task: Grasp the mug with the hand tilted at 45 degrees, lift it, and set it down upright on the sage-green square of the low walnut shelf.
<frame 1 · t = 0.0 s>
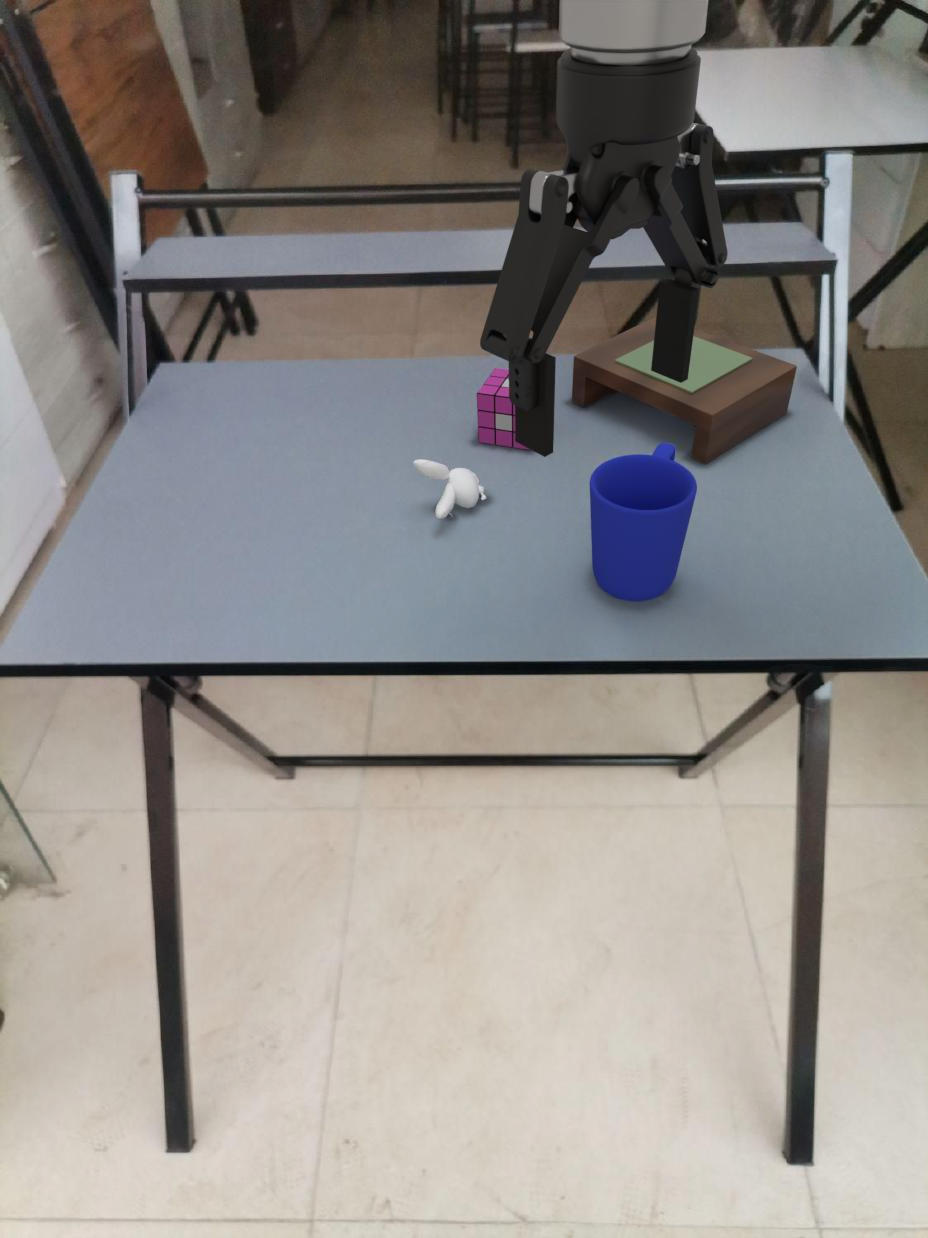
hand: (605, 409, 63), 19 cm above the table, tool pointing down, fingers open, 13 cm apart
puzzle toy: (512, 434, 97), on the table
rabbit figurine: (449, 512, 87), on the table
mug: (639, 569, 79), on the table
shelf: (677, 408, 99), on the table
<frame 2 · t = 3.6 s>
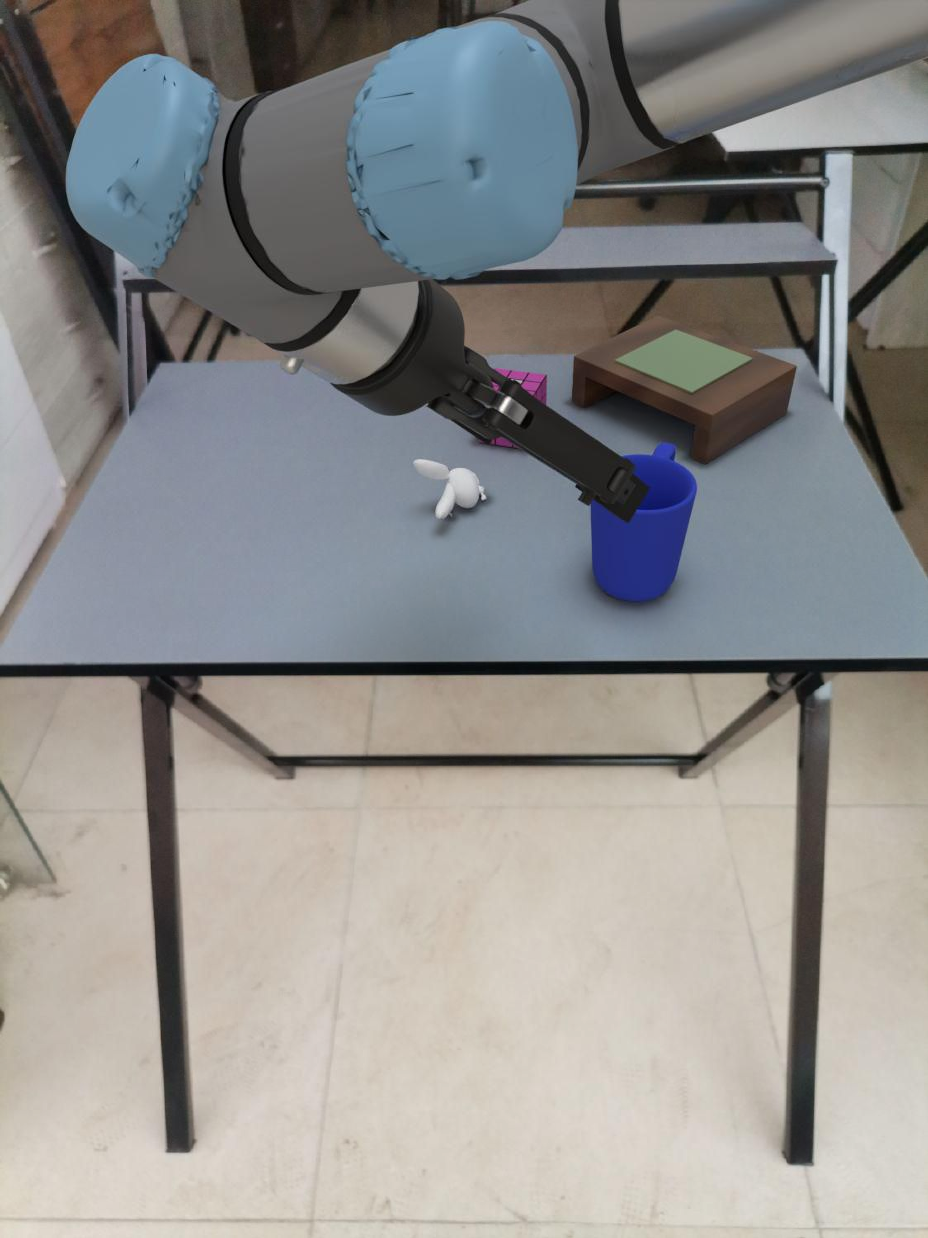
hand: (561, 463, 64), 15 cm above the table, tool tilted 45°, fingers open, 13 cm apart
nothing on the table moved.
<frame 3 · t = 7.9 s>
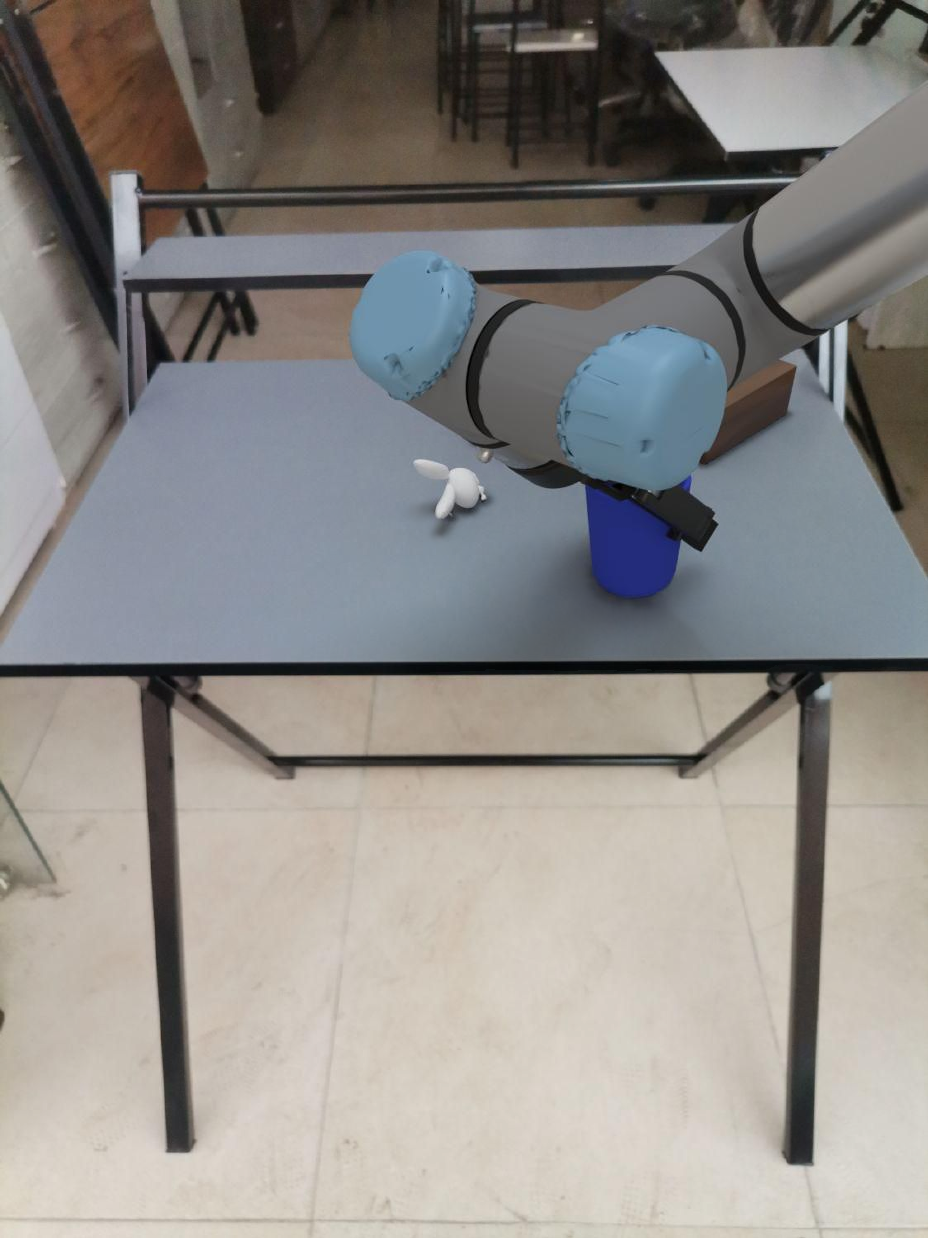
hand: (670, 517, 79), 4 cm above the table, tool tilted 45°, fingers closed on mug, 7 cm apart
mug: (639, 568, 79), on the table, touching gripper
everything else where it was.
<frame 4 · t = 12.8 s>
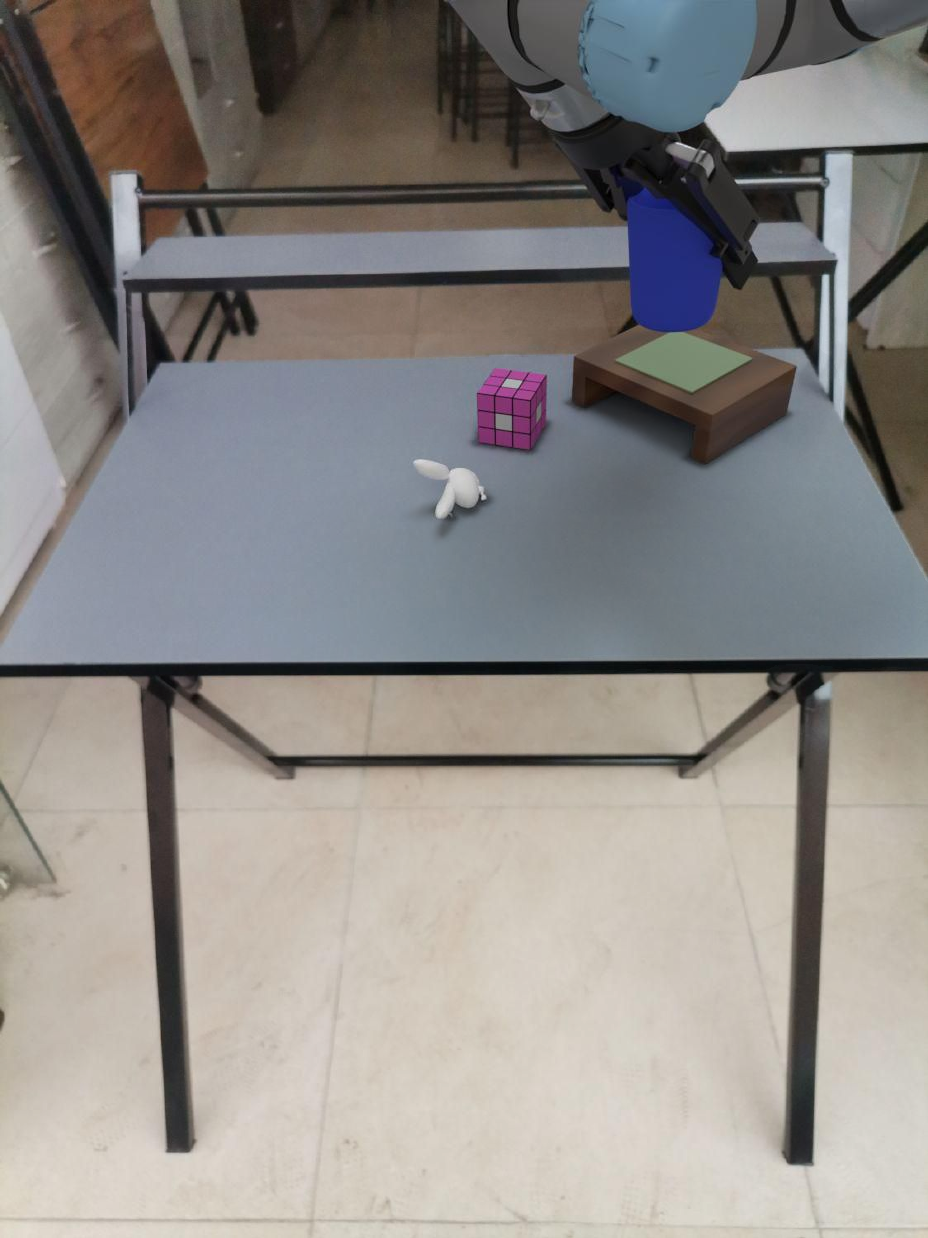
hand: (708, 262, 79), 20 cm above the table, tool tilted 45°, fingers closed on mug, 7 cm apart
mug: (677, 315, 79), point 16 cm above the table, touching gripper
everything else where it was.
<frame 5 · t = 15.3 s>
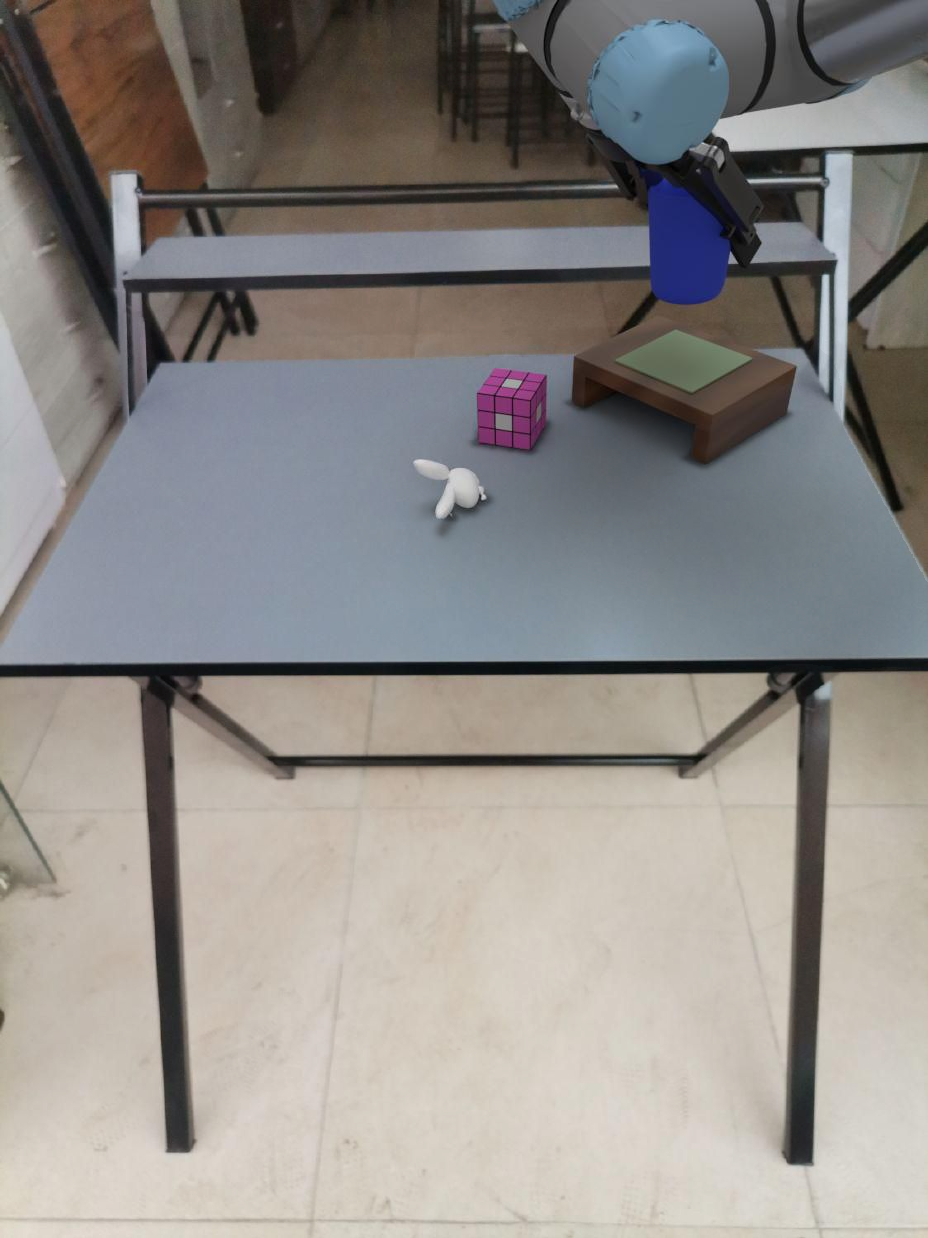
hand: (718, 244, 90), 16 cm above the table, tool tilted 45°, fingers closed on mug, 7 cm apart
mug: (690, 291, 91), point 13 cm above the table, touching gripper
everything else where it was.
when the fingers open (9 cm above the table, at t = 17.7 s): mug stays where it is, resting on shelf.
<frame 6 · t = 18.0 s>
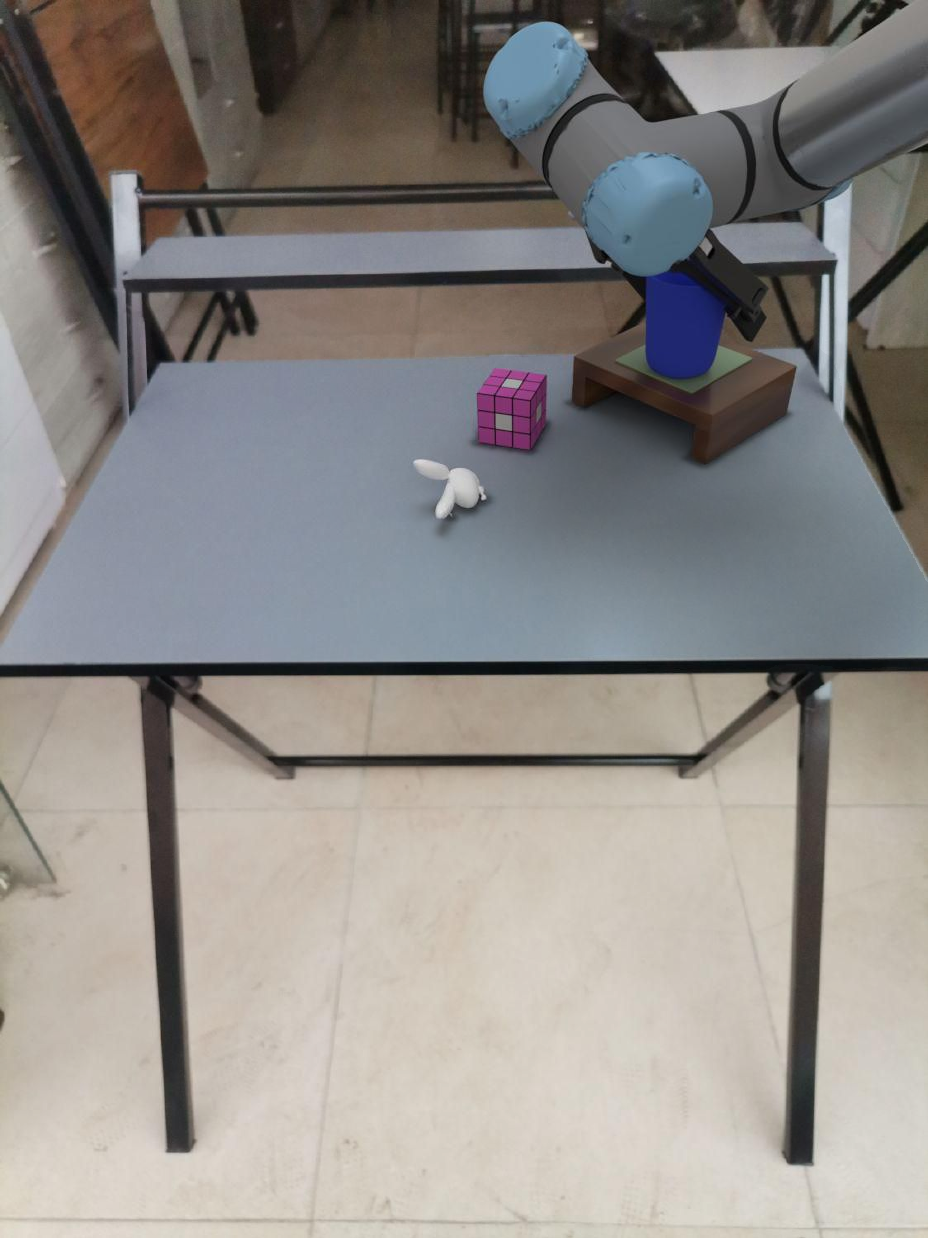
hand: (704, 311, 94), 10 cm above the table, tool tilted 45°, fingers open, 12 cm apart
mug: (683, 360, 96), point 6 cm above the table, touching shelf
everything else where it was.
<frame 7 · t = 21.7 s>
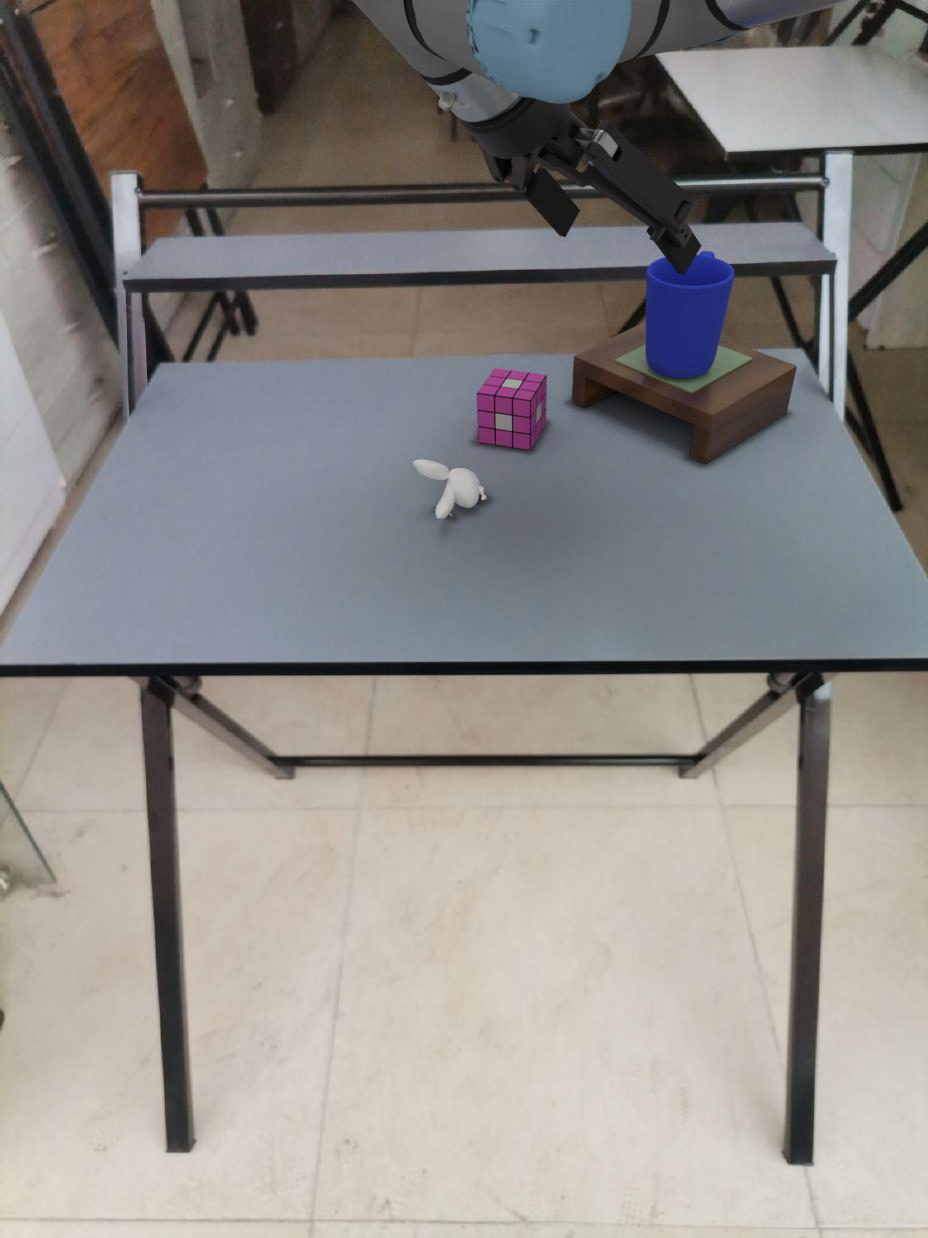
hand: (626, 240, 81), 21 cm above the table, tool tilted 45°, fingers open, 13 cm apart
nothing on the table moved.
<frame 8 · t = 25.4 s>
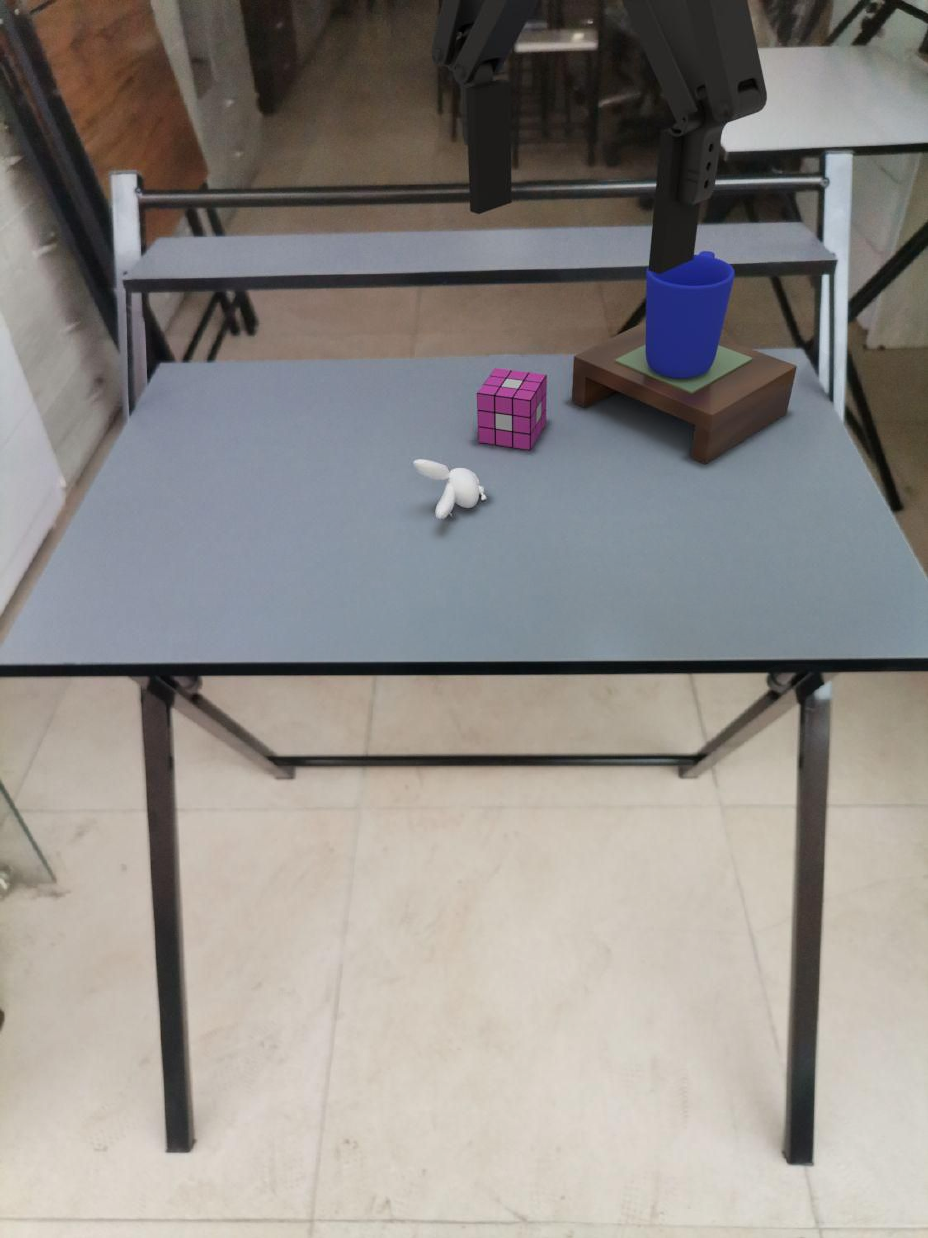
hand: (574, 234, 51), 32 cm above the table, tool pointing down, fingers open, 13 cm apart
nothing on the table moved.
at the end: mug inside the target area on the shelf (0.1 cm from its centre), point 5.5 cm above the shelf's base; mug tilted 0°; the gripper is holding nothing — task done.
